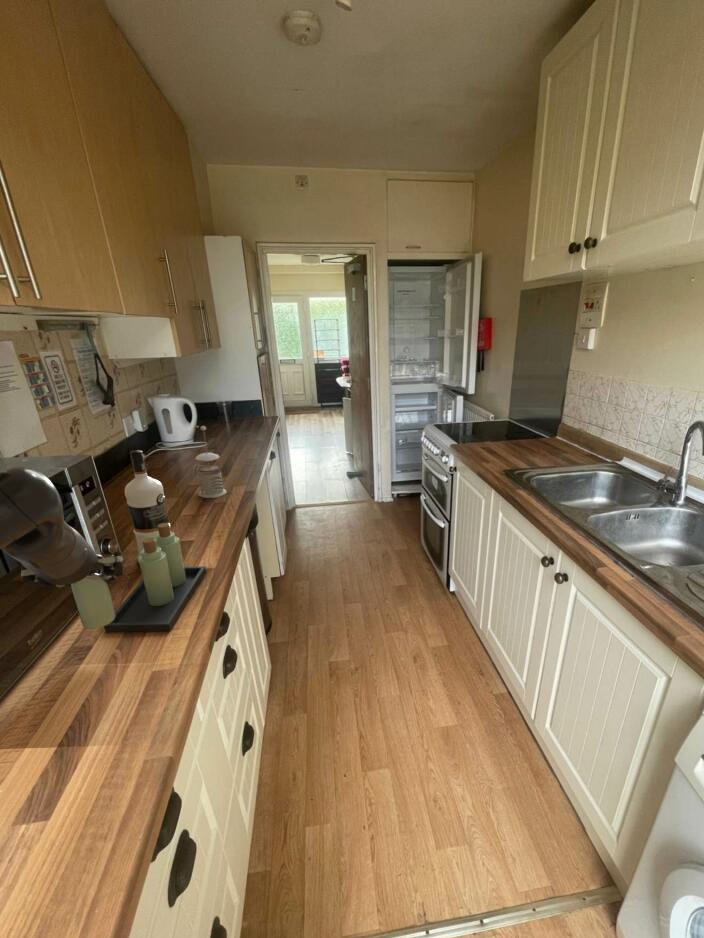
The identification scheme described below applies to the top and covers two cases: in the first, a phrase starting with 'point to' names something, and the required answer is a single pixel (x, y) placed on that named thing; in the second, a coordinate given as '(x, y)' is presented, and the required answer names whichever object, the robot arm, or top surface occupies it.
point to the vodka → (145, 502)
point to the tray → (155, 607)
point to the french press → (209, 475)
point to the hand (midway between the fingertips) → (91, 581)
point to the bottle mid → (155, 574)
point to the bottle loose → (93, 602)
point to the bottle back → (171, 553)
